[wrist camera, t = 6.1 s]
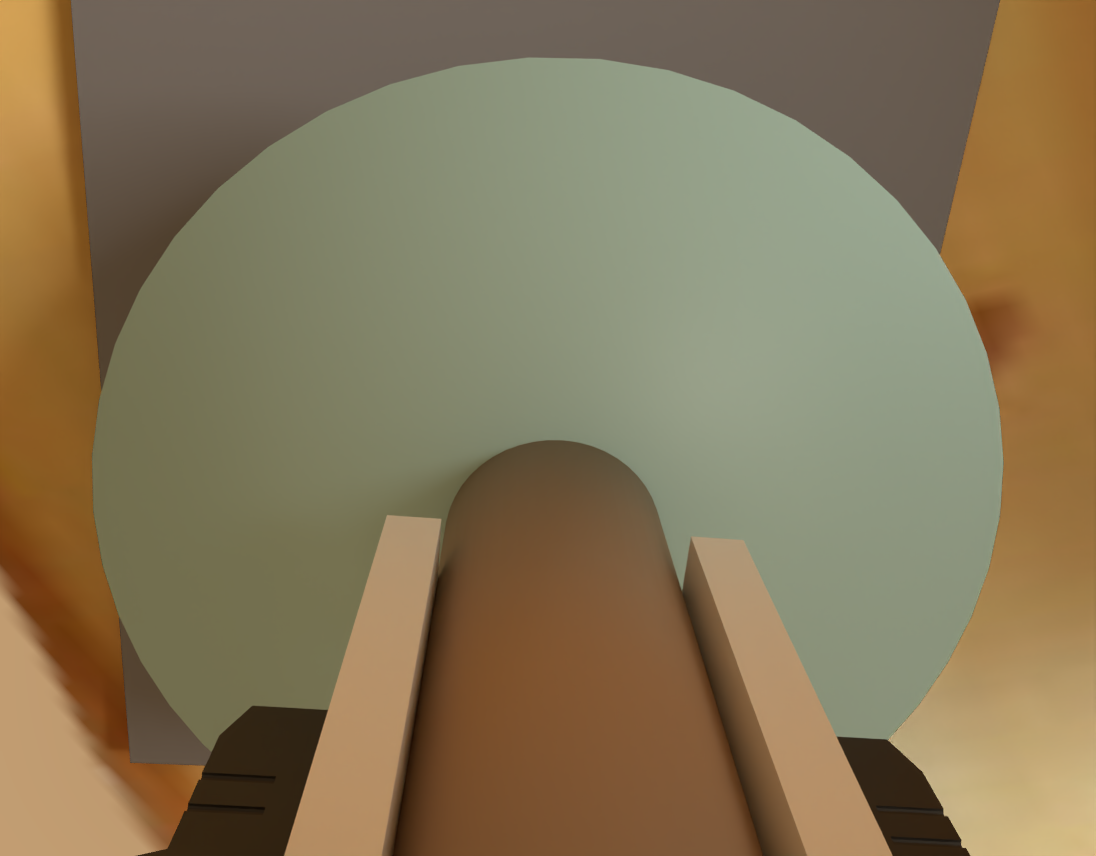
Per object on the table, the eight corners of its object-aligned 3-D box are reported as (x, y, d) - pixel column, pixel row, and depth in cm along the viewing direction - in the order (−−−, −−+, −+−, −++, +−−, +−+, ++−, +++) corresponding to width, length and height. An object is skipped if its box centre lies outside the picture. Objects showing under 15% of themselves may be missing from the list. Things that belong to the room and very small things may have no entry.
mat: (74, -120, 18) (61, -127, 17) (990, -20, 19) (1005, -22, 18) (138, 746, 25) (130, 762, 24) (806, 773, 26) (813, 788, 25)
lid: (83, 13, 14) (-1329, -168, 3) (1074, 103, 15) (2498, 190, 4) (150, 818, 19) (-303, 1734, 9) (873, 851, 20) (1267, 1724, 9)
